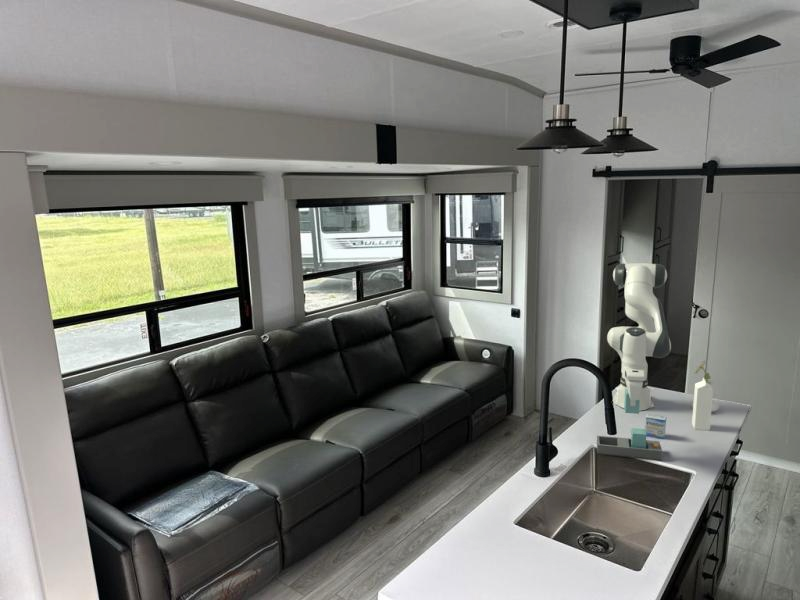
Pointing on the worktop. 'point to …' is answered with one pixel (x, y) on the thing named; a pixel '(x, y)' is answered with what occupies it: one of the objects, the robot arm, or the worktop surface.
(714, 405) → the flower in vase
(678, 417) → the worktop surface
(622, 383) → the robot arm
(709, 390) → the milk
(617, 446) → the grey sink caddy
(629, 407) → the teal rectangular block
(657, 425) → the medicine box
